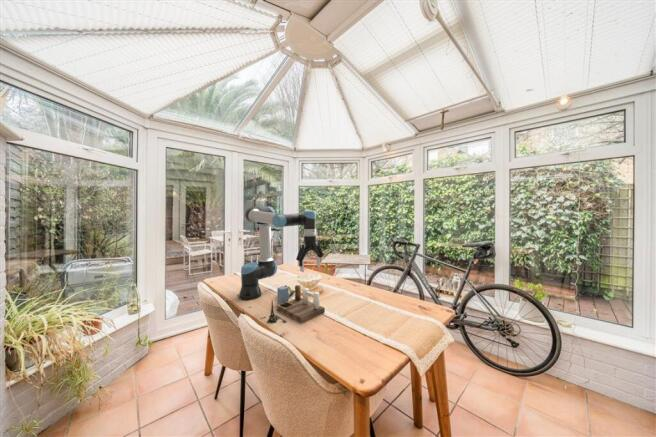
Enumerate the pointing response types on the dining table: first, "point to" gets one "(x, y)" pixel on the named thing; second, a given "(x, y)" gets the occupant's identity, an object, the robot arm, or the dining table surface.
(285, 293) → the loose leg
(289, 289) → the ceramic sculpture
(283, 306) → the stool seat
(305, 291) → the hinged leg
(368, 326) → the dining table surface
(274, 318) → the eiffel tower figurine
